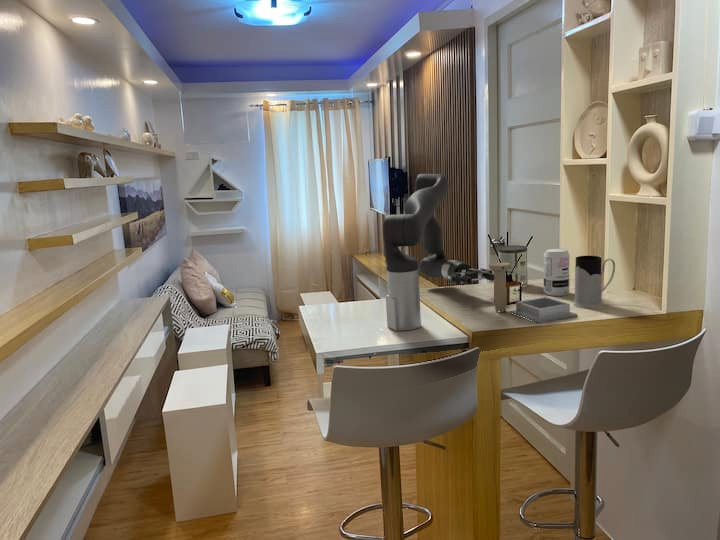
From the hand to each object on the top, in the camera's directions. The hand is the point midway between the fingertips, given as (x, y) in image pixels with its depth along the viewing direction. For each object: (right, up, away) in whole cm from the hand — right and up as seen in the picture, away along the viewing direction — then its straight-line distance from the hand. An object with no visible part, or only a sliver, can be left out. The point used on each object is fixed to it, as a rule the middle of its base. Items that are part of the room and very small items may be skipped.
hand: (482, 279), depth 195 cm
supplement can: (+27, -5, +10) cm, 29 cm away
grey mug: (+34, -8, -5) cm, 36 cm away
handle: (+4, -10, -7) cm, 13 cm away
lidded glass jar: (+17, -3, +26) cm, 31 cm away
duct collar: (+15, -10, -14) cm, 23 cm away
